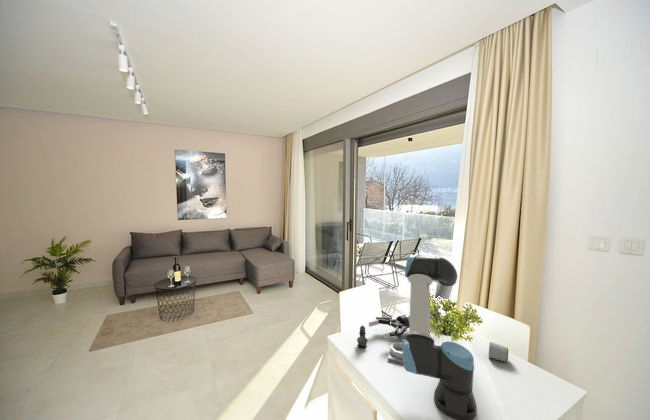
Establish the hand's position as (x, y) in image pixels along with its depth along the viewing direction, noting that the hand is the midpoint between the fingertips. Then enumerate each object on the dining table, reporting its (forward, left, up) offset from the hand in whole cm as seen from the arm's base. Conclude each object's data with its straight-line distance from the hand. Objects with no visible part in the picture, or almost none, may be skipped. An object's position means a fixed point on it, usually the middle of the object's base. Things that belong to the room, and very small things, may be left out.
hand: (376, 329), depth 148 cm
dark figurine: (-7, +6, -7) cm, 12 cm away
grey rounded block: (+12, -60, -7) cm, 62 cm away
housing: (-7, -19, -7) cm, 21 cm away
